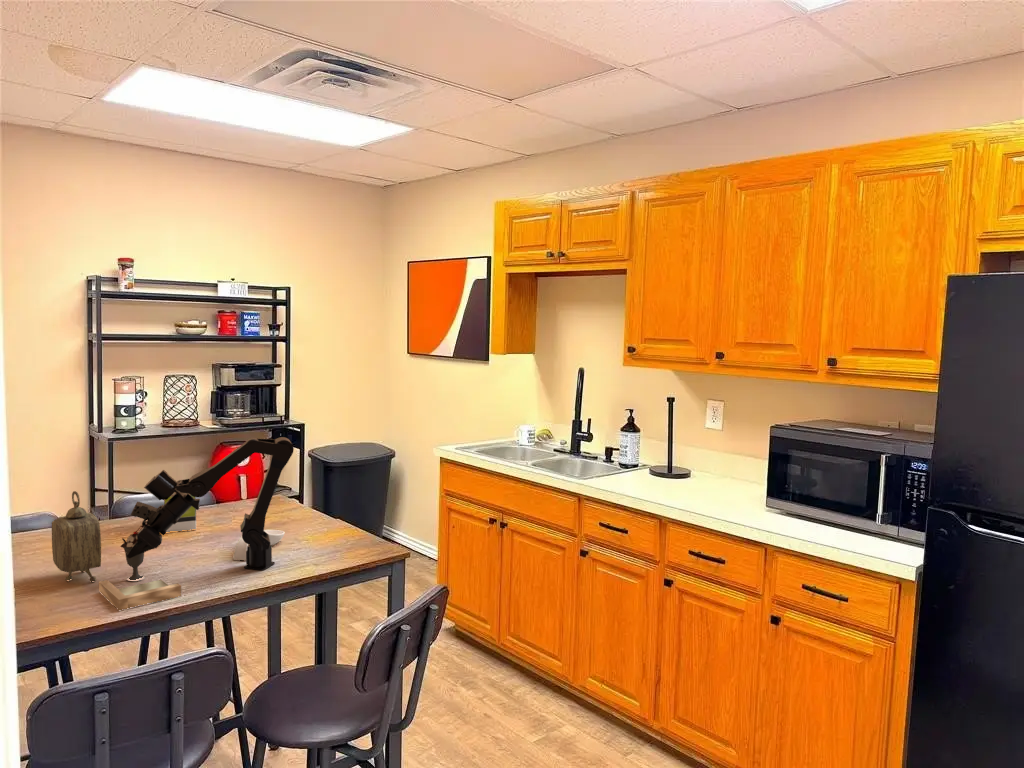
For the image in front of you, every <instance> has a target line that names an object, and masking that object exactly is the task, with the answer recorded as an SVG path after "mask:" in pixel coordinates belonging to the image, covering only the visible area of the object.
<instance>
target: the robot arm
mask: <svg viewBox="0 0 1024 768" xmlns="http://www.w3.org/2000/svg"><path fill="white" fill-rule="evenodd" d="M294 449H295V448H294V445H293V444H292V442H291V440H290V439H289V438H287V437H284V436H281V437H278V438H275V439H273V438H256V437H250V438H248V439H247V440H246V441H245V442H244V443H242V444H241V445H240V446H238V447H237V448H236V449H234V450H233V451H232V452H230V453H228V455H226V456H225V457H223V458H222V459H221V460H219V461H218V462H216V464H214V465H212V466H211V467H208V468H206V469H203V470H201V471H199V472H197V473H195V474H193V475H192V476H191V477H189V478H184V479H179V480H176V479H174V478H173V477H172V476H171V475H170V474H169V473H168V472H167V471H166V470H165V469H162V470H161V471H160V472H158V474H156V475H154V476H153V477H152V478H151V479H150V480H149V481H148V482H147V483H146V485H145V486H144V487H143V488H144V489H145V490H146V491H148V493H150V494H151V495H153V496H154V497H155V498H156V499H157V500H159V501H164V499H165V500H167V499H168V498H169V497H170V496H171V495H172V494H173V493H174V492H176V494H175V495H174V496H173V497H172V498H171V499H170V500H168V501H167V502H166V503H165V504H164V503H163V504H162V505H159V506H158V507H155V506H153V505H151V504H146V503H144V502H142V501H136V503H135V505H134V507H133V508H132V511H131V513H130V515H131V516H132V517H134V518H139V519H142V523H141V526H143V527H142V528H140V529H141V530H140V529H139V530H138V531H137V532H138V534H137V539H138V541H137V542H136V543H135V545H134V546H133V547H132V549H131V550H130V552H129V553H128V554H127V557H128V558H132V557H134V556H137V555H139V554H141V553H144V554H145V553H146V552H148V551H151V550H155V549H157V548H158V547H159V546H160V545H162V542H163V536H165V534H166V531H167V530H168V529H169V528H170V527H171V526H172V525H173V524H174V525H175V524H176V523H177V521H178V519H179V518H180V517H181V516H182V515H183V514H184V513H185V512H186V511H187V510H188V509H189V508H190V507H191V506H193V507H194V508H195V509H196V511H199V509H200V501H201V499H200V498H202V497H204V496H206V495H207V494H208V493H209V491H211V490H212V488H213V487H214V486H215V485H216V484H217V482H218V481H220V479H221V478H223V477H224V476H225V475H227V473H229V472H231V471H232V470H233V469H235V468H236V467H237V466H239V464H241V463H242V462H244V461H246V459H248V458H249V457H250V456H253V454H262V455H267V456H268V455H269V457H270V458H269V465H268V468H267V471H266V473H265V476H264V479H263V482H262V484H261V488H260V490H259V492H258V496H257V498H256V501H255V504H254V506H253V508H252V510H251V512H250V514H248V513H246V512H245V513H244V517H243V521H242V522H241V524H240V527H239V528H240V532H241V536H242V538H243V540H244V542H245V543H247V544H248V546H247V551H246V562H245V563H246V565H244V567H243V568H244V569H247V570H248V569H249V570H257V571H264V570H266V569H269V568H270V567H271V566H274V565H275V563H276V562H275V561H273V559H272V558H273V557H272V556H273V555H272V552H273V551H272V550H273V549H272V548H273V545H270V538H269V535H268V534H267V533H266V532H265V531H264V530H265V526H266V525H265V524H266V515H267V513H268V510H269V507H270V504H271V502H272V499H273V496H274V493H275V491H276V488H277V485H278V483H279V479H280V476H281V473H282V471H283V470H284V468H285V467H286V466H287V464H288V463H289V460H290V459H291V458H292V456H293V454H294ZM184 493H186V494H184ZM189 494H190V495H189ZM192 496H193V497H196V499H194V498H193V497H192Z"/></svg>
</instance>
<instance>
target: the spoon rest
mask: <svg viewBox="0 0 1024 768" xmlns="http://www.w3.org/2000/svg"><path fill="white" fill-rule="evenodd" d="M264 531H265V532H266V533H267V534H268V535H269V538H270V545H272V546H274V545H275V544H277V543H279V542H280V541H281V540H282V539H283V538H284V536H285V531H284V530H279V529H264ZM247 546H249V544H247V543H245V542H244V540H243V538H242V535H241V536H240V538H239V539H238V541H237V543H236V546H235V548H234V550H233V557H232V559H233V561H240V560H244V561H246V551H247ZM244 561H243V562H244Z"/></svg>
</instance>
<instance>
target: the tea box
mask: <svg viewBox="0 0 1024 768" xmlns="http://www.w3.org/2000/svg"><path fill="white" fill-rule="evenodd" d="M175 494H176V492H174V493H173V494H172V495H171V496H170V497H169V498H168V499H167V500H165V499H164V500H163V502H164V503H163V505H164V504H165V503H166V502H167V501H168V500H170V499H171V498H172V497H173V496H174V495H175ZM184 494H186V493H184ZM189 495H190V494H189ZM192 497H193V496H192ZM193 498H194V499H197V497H193ZM190 529H191V530H192V529H196V530H197V510H196V509H195V508H194V507H193V506H191V507H190V508H189V509H188V510H187V511H186V512H185V513H184V514H183V515H182V516H181V517H180V518H179V519H178V521H177V523H176V524H175V525H174V524H173V525H172V526H171V527H170V528H169V529H168V530H167V531H166V532H170V531H182V530H190Z"/></svg>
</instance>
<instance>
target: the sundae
mask: <svg viewBox="0 0 1024 768" xmlns="http://www.w3.org/2000/svg"><path fill="white" fill-rule="evenodd" d="M142 527H143V526H142V525H140V527H139V528H138V529H137V530H136V531H133V533H132V534H130V535H129V536H128V537H127V539H125V538H123V537H122V538H121V540H122V542H123V543H122V544H121V545H120V548H123V550H124V554H125V558H126V563H127V565H128V566H130V567H131V568H132V574H131V576H129V577H130V578H129V579H130V580H136V579H139V578H142V577H143V576H144V575H142V576H140V574H139V570H138V569H139V566H141V564H143V562H144V557H145V552H144V553H141V554H139V555H137V556H134V557H132V558H128V557H127V554H128V553H129V552H130V550H131V549H132V547H133V546H134V545H135V543H136V542H137V541H138V539H137V534H138V532H139V531H140V530H141V529H142Z"/></svg>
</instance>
